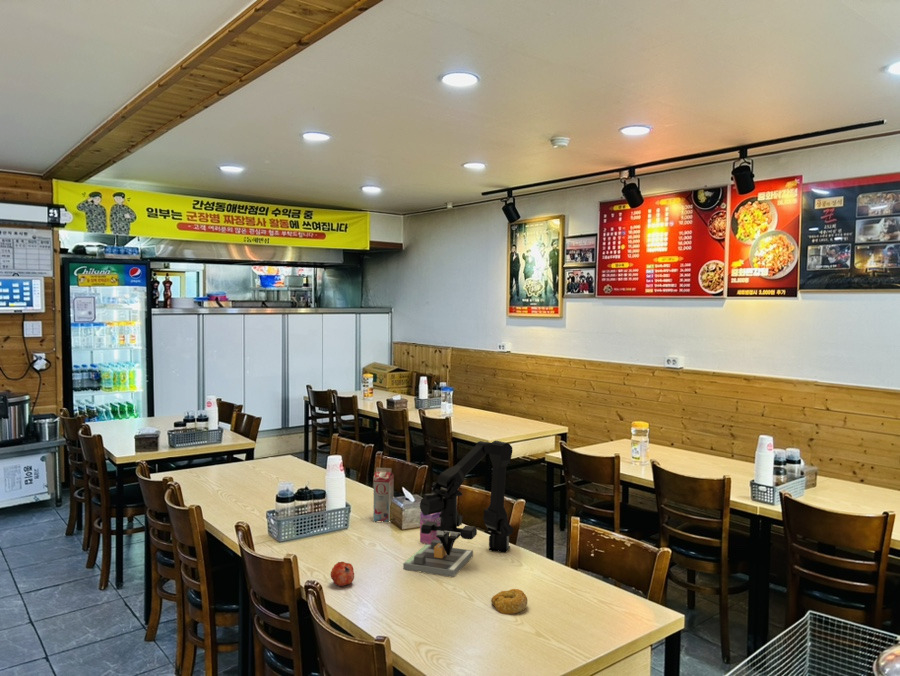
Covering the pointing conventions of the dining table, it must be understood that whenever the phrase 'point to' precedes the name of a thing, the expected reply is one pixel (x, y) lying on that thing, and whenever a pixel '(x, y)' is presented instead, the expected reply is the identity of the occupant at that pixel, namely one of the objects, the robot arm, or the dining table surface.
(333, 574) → the pomegranate
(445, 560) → the panel
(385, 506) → the juice carton
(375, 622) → the dining table surface
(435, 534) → the box
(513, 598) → the bagel
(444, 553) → the handle
